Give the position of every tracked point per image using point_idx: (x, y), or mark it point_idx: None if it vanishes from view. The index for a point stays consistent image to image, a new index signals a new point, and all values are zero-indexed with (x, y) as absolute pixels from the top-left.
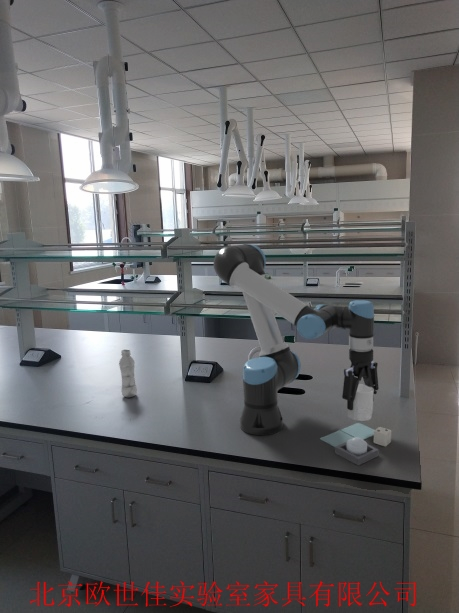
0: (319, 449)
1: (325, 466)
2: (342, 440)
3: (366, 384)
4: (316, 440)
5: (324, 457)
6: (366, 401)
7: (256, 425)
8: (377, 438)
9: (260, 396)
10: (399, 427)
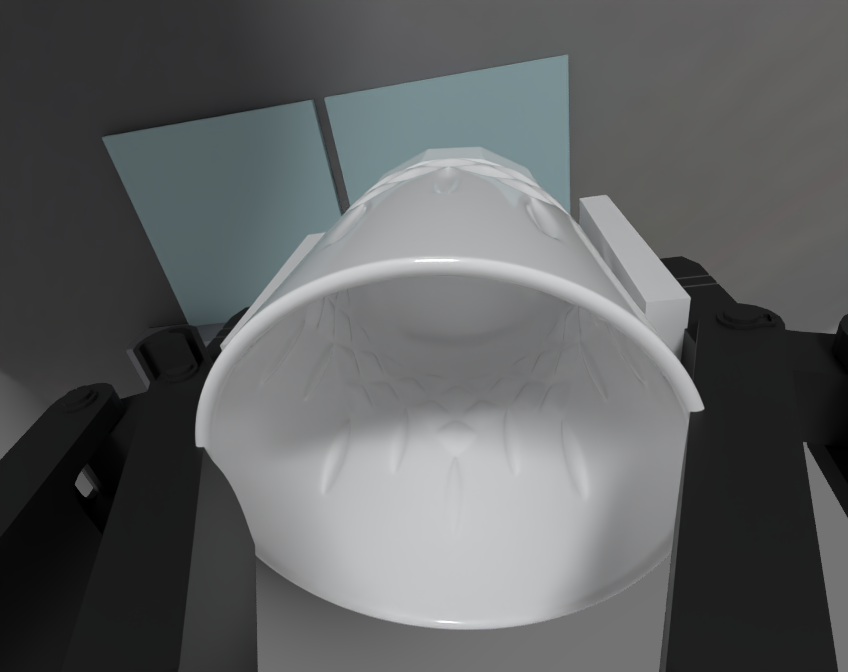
0: (64, 253)
1: (52, 395)
2: (251, 249)
3: (683, 466)
4: (74, 138)
5: (70, 334)
6: (408, 497)
7: None
8: None
9: None
10: (765, 290)
